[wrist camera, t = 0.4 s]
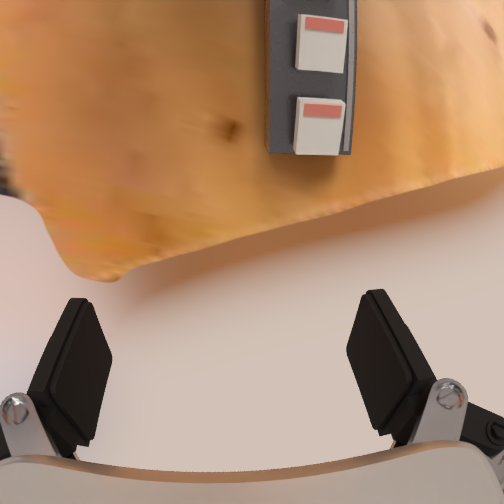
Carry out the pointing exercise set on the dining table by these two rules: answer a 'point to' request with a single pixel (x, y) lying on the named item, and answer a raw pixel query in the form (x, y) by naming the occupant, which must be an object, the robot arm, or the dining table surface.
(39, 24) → the dining table surface
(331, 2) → the power strip
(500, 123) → the dining table surface
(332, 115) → the rocker
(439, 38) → the dining table surface
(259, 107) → the dining table surface
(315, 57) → the rocker
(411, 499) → the robot arm
